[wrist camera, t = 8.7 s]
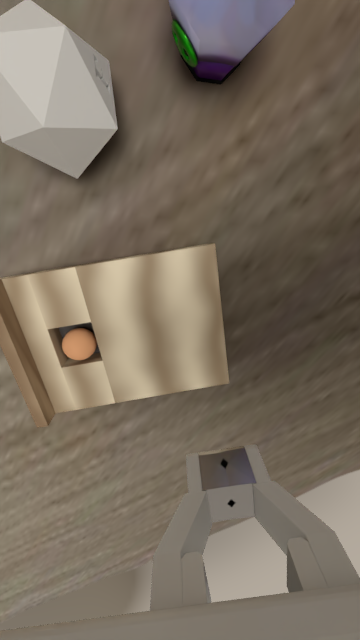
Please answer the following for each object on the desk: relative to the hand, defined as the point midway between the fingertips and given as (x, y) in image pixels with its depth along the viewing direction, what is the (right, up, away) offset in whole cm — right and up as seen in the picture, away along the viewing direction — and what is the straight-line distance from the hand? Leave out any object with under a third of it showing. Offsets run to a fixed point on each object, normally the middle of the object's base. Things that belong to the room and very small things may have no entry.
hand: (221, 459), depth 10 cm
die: (-11, +24, +12) cm, 29 cm away
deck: (-8, +5, +18) cm, 20 cm away
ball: (-12, +4, +18) cm, 22 cm away
